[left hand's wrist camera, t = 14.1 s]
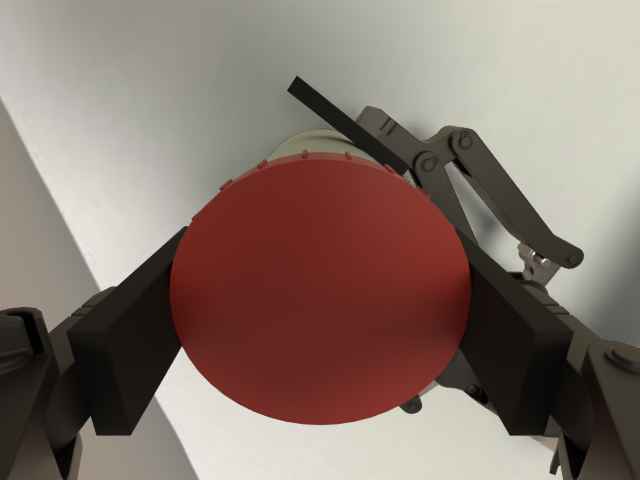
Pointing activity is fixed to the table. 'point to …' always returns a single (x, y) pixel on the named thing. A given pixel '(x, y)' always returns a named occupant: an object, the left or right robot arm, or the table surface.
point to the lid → (320, 289)
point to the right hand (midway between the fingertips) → (244, 161)
